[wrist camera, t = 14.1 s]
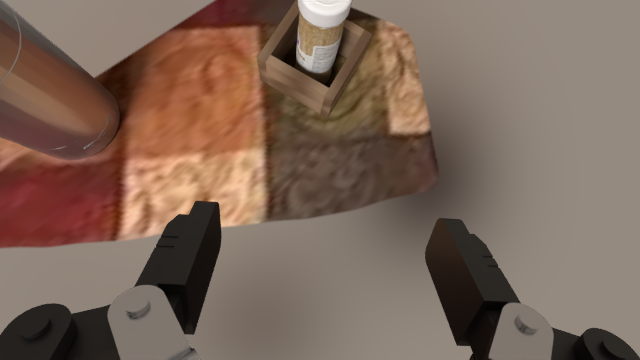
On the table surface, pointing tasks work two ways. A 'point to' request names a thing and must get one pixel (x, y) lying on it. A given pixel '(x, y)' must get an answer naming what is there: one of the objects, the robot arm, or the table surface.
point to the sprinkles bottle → (319, 36)
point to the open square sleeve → (298, 82)
